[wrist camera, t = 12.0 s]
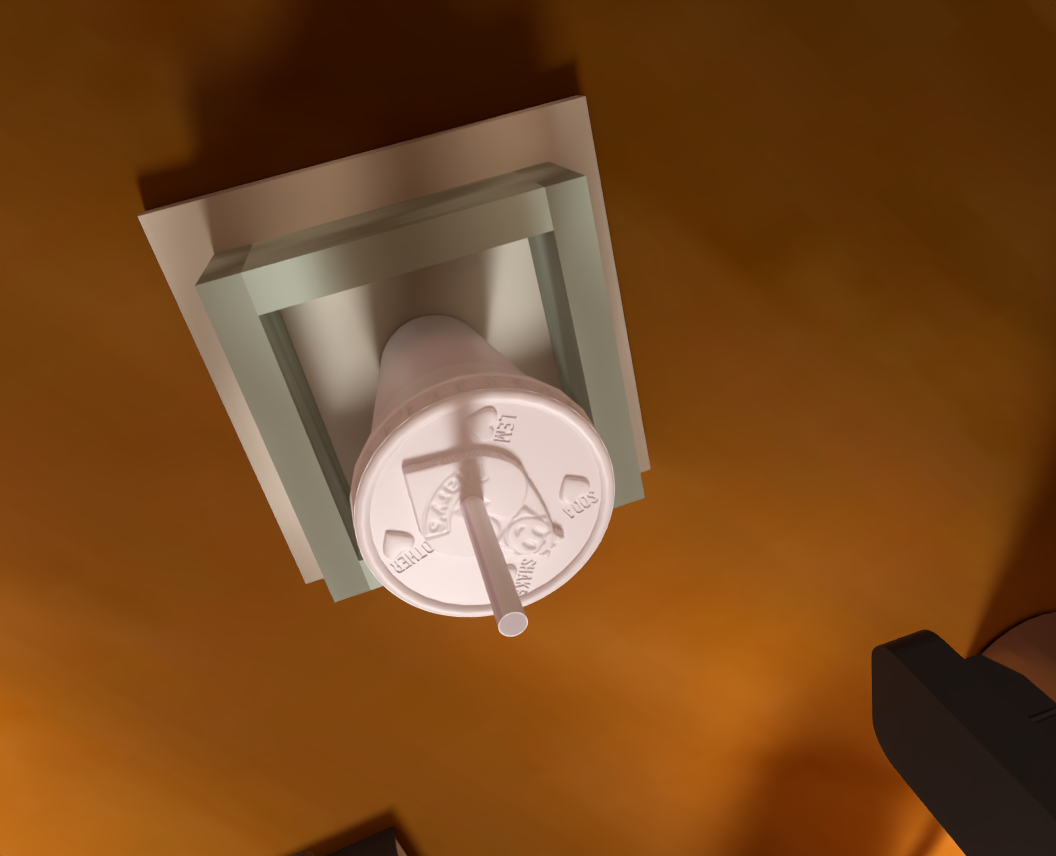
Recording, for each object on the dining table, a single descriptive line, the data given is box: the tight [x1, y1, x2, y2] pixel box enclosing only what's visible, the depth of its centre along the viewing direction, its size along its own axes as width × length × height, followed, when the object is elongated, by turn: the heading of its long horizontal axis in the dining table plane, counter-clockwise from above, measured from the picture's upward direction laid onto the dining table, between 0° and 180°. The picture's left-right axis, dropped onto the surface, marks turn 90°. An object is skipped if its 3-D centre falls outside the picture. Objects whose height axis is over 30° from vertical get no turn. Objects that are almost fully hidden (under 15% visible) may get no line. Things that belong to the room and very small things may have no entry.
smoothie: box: [349, 315, 615, 636], centre depth 20 cm, size 6×6×14 cm
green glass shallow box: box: [138, 95, 650, 602], centre depth 25 cm, size 14×14×5 cm
